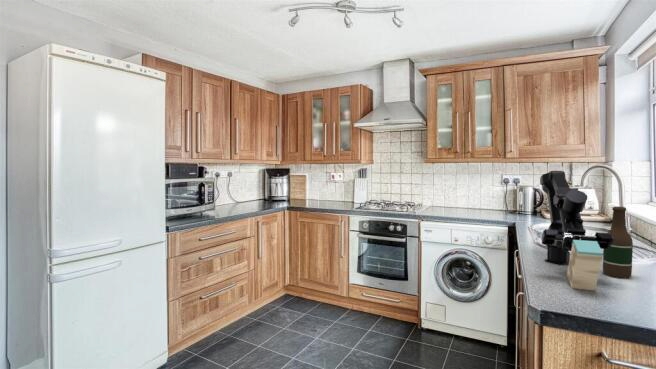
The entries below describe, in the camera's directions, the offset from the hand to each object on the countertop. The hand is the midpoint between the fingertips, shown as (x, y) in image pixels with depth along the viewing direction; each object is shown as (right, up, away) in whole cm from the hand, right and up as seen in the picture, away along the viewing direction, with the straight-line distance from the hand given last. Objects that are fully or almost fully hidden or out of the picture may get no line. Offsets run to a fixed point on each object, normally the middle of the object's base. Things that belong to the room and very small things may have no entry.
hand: (580, 261), depth 105 cm
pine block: (0, -7, 0) cm, 7 cm away
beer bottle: (+21, -8, +10) cm, 24 cm away
